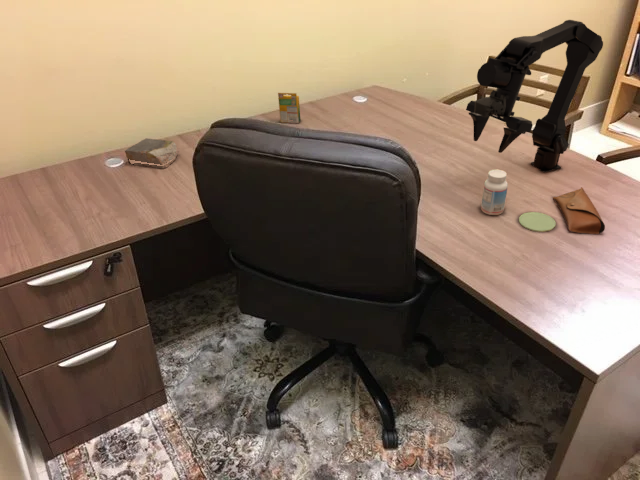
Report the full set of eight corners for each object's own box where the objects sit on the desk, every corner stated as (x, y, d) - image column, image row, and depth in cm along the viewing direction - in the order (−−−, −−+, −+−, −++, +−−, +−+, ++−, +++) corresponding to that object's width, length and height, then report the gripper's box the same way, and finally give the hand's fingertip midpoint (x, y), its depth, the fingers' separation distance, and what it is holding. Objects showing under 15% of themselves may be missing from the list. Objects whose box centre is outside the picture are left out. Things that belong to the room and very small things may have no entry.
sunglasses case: (550, 196, 149) (567, 177, 145) (570, 207, 151) (587, 189, 147) (569, 232, 134) (588, 212, 131) (590, 244, 136) (610, 225, 132)
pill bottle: (504, 205, 147) (510, 169, 141) (502, 217, 142) (509, 180, 136) (481, 203, 149) (486, 166, 142) (479, 214, 144) (484, 177, 138)
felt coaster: (539, 210, 144) (540, 209, 144) (563, 227, 137) (563, 225, 137) (511, 217, 142) (511, 216, 142) (533, 235, 135) (533, 233, 135)
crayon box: (300, 120, 205) (298, 90, 198) (298, 123, 202) (296, 93, 196) (282, 119, 206) (279, 90, 200) (280, 122, 204) (277, 92, 197)
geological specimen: (142, 137, 185) (178, 139, 180) (146, 153, 189) (182, 156, 184) (122, 149, 177) (160, 152, 172) (127, 166, 180) (165, 169, 175)
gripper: (461, 77, 142) (443, 134, 149) (516, 96, 128) (493, 158, 135) (489, 81, 148) (470, 136, 155) (544, 100, 135) (520, 159, 141)
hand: (487, 146), depth 146 cm, fingers open, 9 cm apart
